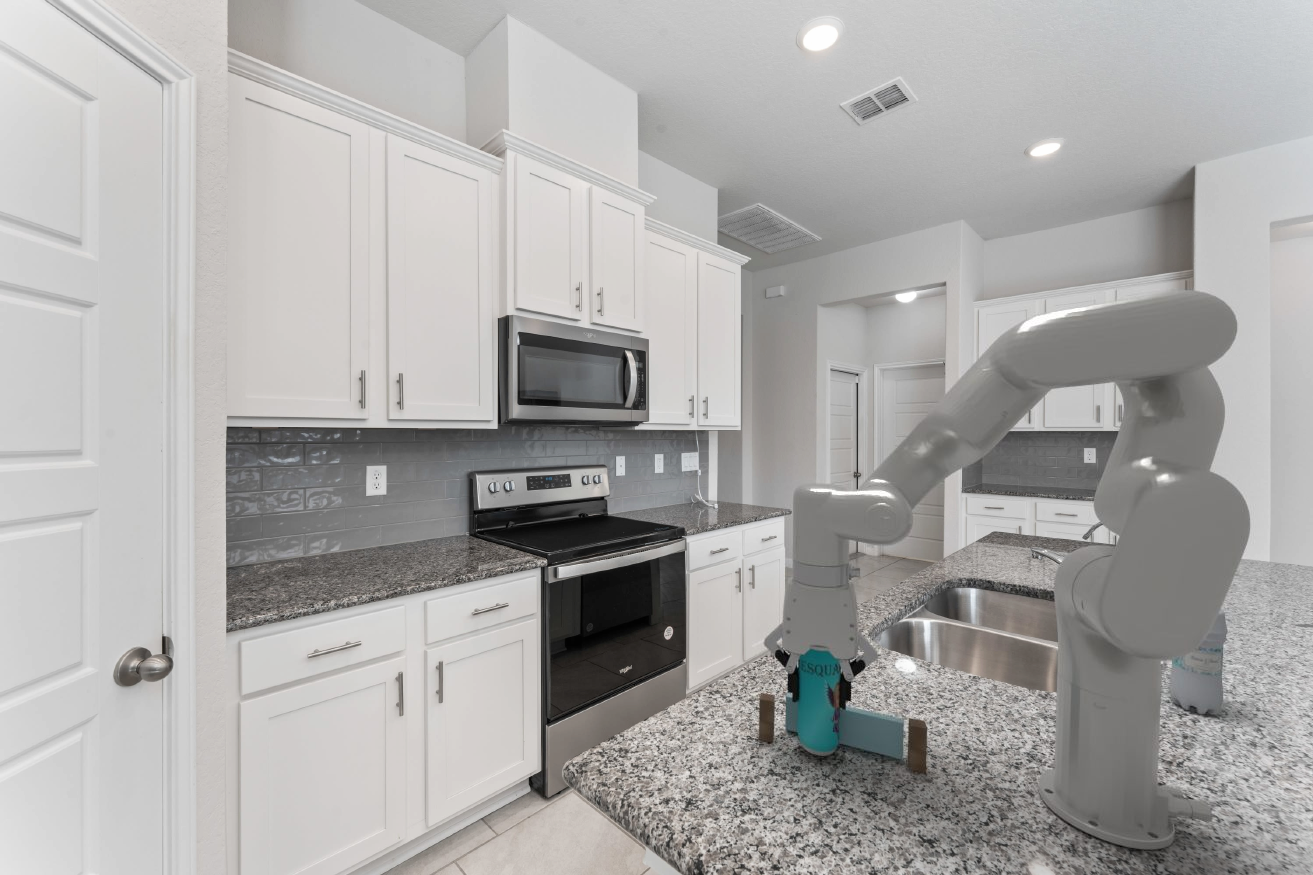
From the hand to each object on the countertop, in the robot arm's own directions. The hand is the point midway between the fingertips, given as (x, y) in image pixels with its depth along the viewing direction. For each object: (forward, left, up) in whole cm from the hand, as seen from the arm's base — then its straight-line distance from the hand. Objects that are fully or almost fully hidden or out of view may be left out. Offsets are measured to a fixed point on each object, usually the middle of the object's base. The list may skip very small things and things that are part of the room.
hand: (818, 699), depth 77 cm
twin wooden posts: (-3, -1, -7) cm, 8 cm away
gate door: (-3, -3, -7) cm, 8 cm away
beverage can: (0, 0, -7) cm, 7 cm away
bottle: (-59, -33, -8) cm, 68 cm away
